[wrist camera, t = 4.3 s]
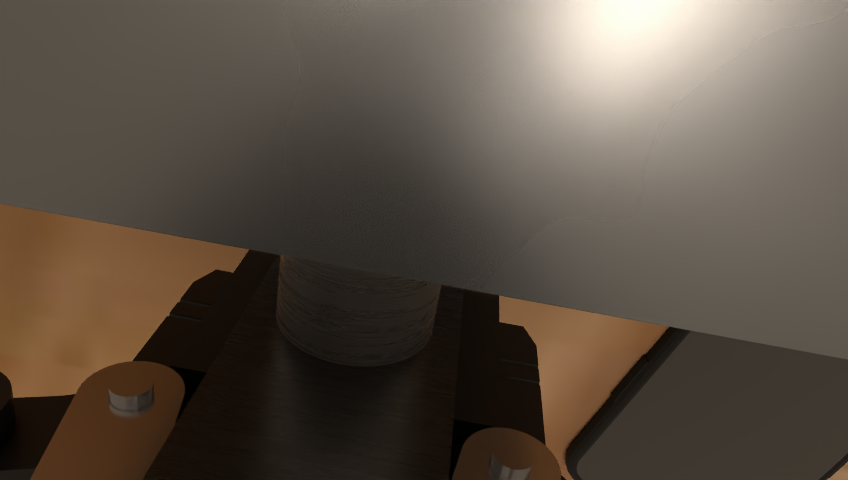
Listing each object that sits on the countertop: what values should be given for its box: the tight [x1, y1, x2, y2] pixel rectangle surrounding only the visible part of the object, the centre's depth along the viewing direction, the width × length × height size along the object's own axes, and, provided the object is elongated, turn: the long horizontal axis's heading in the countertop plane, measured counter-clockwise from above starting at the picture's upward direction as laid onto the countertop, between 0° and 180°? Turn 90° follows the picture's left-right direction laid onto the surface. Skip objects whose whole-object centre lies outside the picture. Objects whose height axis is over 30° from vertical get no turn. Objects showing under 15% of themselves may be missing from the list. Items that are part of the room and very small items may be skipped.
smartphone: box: [566, 327, 848, 480], centre depth 20 cm, size 7×1×15 cm
